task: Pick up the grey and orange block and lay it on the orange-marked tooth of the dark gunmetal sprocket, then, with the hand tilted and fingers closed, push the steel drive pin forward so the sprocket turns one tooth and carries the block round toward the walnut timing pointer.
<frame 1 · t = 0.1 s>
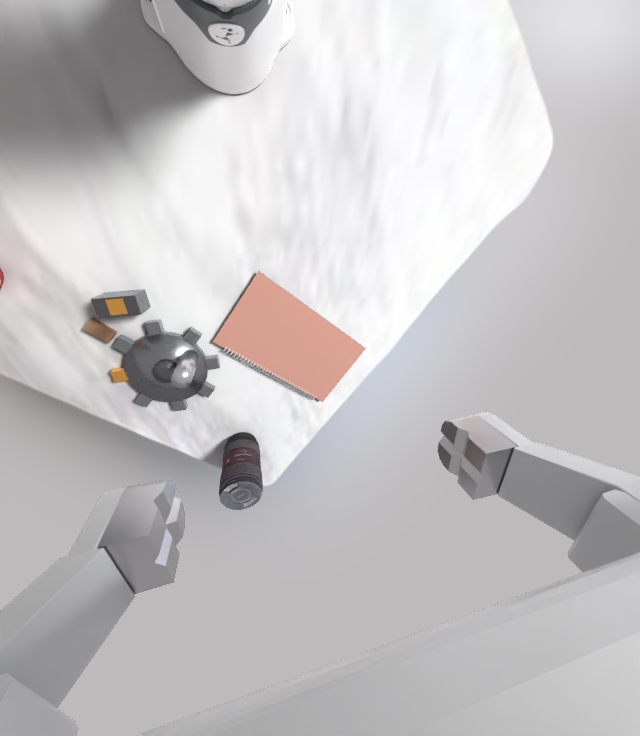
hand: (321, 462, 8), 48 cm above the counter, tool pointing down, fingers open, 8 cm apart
sprocket: (161, 379, 49), point 6 cm above the counter, hinge at 0.0°
grey and orange block: (128, 299, 47), on the counter
notebook: (292, 344, 59), on the counter
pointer: (102, 329, 48), on the counter
camera lens: (241, 443, 66), on the counter
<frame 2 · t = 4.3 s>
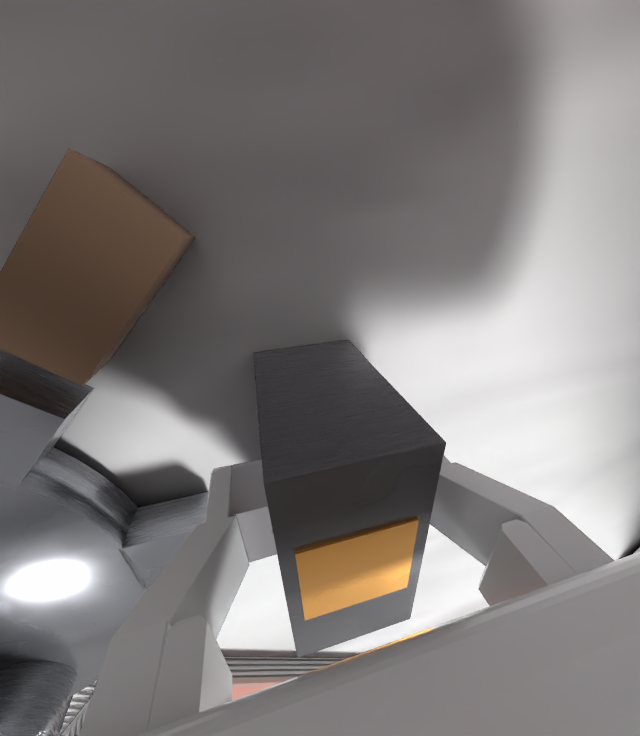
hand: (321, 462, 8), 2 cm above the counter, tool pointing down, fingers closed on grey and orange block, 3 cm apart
grey and orange block: (308, 423, 10), on the counter, touching gripper
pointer: (109, 274, 7), on the counter
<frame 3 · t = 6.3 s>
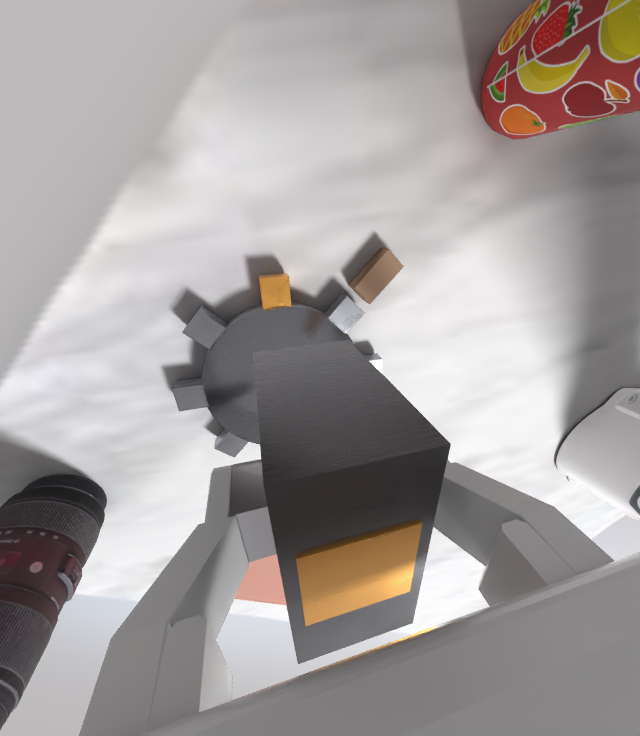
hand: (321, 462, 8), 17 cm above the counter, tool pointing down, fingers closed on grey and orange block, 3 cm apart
sprocket: (291, 407, 22), point 5 cm above the counter, hinge at 0.0°
grey and orange block: (308, 424, 10), point 16 cm above the counter, touching gripper
notebook: (306, 526, 38), on the counter
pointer: (371, 274, 24), on the counter
camera lens: (67, 497, 27), on the counter
smoothie: (511, 87, 21), on the counter
when the fingers open (5 cm above the counter, at t = 8.5 s): grey and orange block drops 1 cm, resting on sprocket.
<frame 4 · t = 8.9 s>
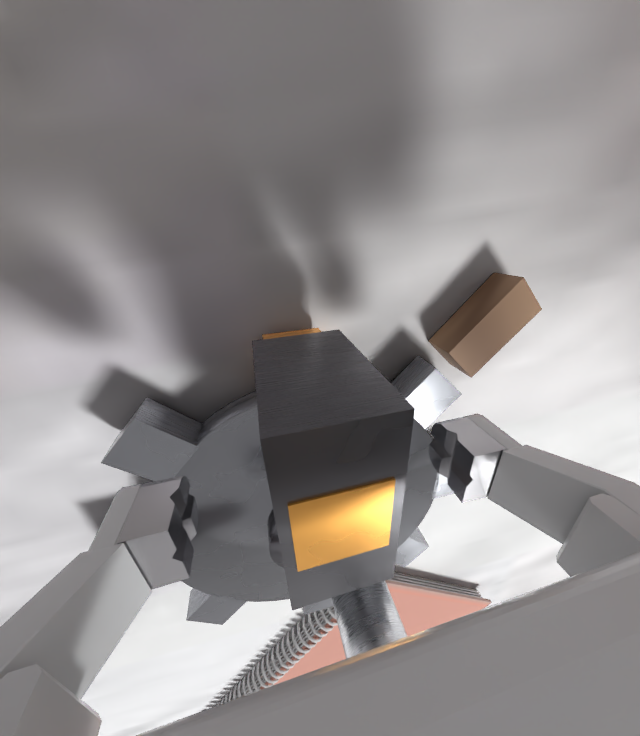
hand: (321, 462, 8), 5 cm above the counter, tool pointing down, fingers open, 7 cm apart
sprocket: (334, 606, 11), point 6 cm above the counter, hinge at 0.0°, touching grey and orange block
grey and orange block: (303, 407, 11), point 2 cm above the counter, touching sprocket
notebook: (330, 654, 27), on the counter
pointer: (470, 321, 13), on the counter
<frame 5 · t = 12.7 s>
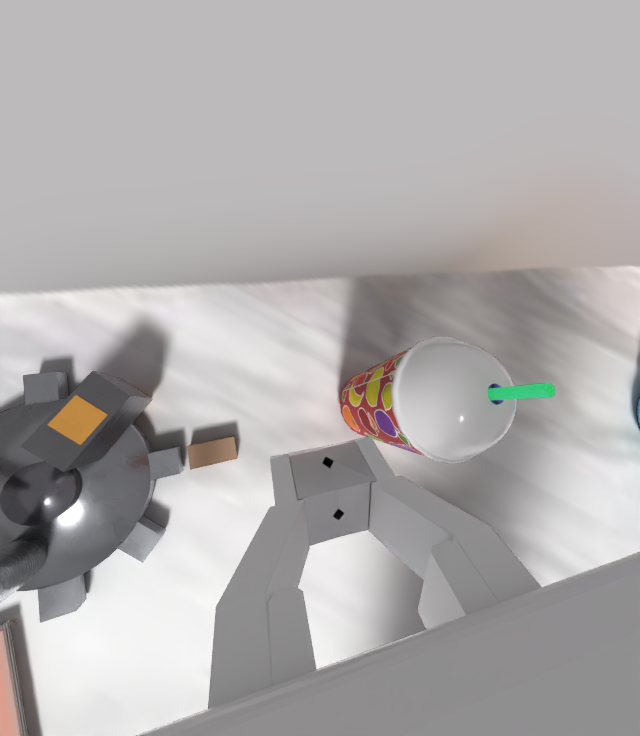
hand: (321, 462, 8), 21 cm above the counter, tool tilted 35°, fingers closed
sprocket: (9, 504, 18), point 6 cm above the counter, hinge at 0.0°, touching grey and orange block
grey and orange block: (111, 418, 23), point 2 cm above the counter, touching sprocket
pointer: (214, 450, 27), on the counter
smoothie: (363, 404, 32), on the counter
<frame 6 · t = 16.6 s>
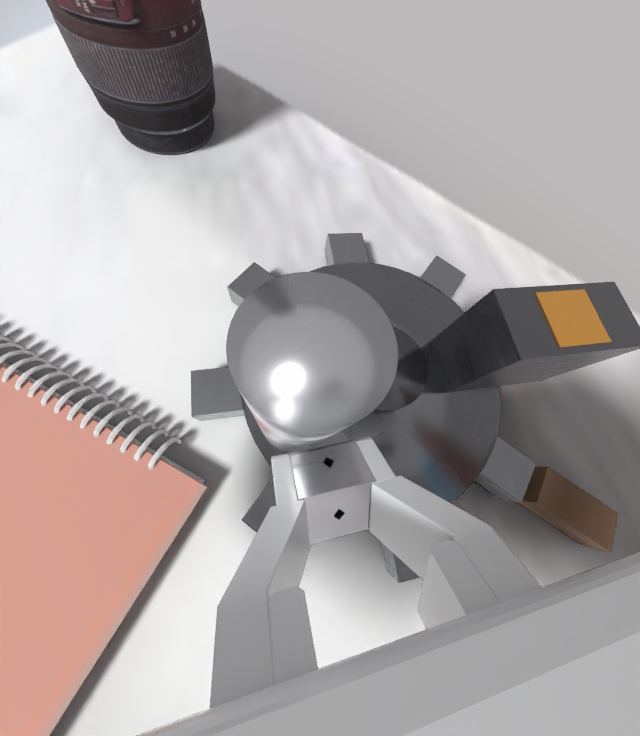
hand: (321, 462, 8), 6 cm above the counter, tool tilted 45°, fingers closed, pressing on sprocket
sprocket: (407, 342, 11), point 5 cm above the counter, hinge at 2.7°, touching gripper, grey and orange block
grey and orange block: (485, 361, 16), point 2 cm above the counter, touching sprocket
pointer: (551, 504, 15), on the counter
camera lens: (170, 127, 21), on the counter
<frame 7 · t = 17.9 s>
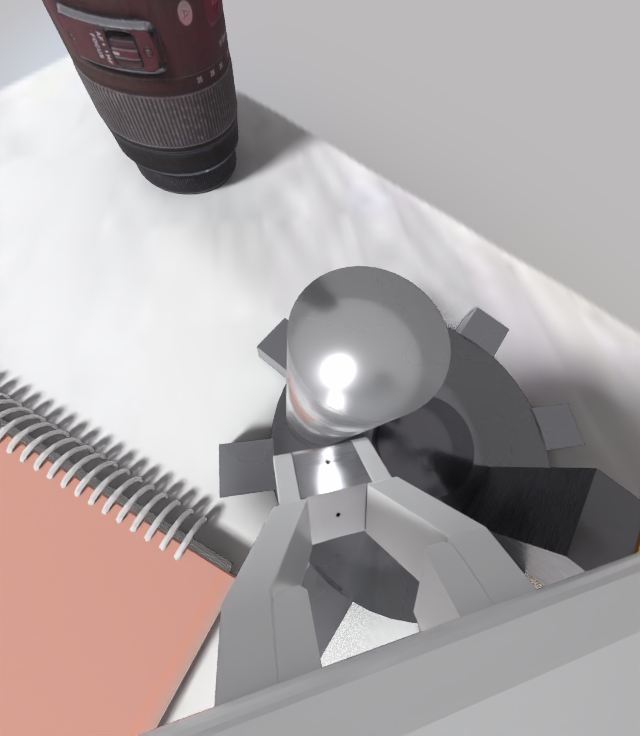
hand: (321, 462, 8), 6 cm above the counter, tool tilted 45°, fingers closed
sprocket: (462, 438, 10), point 6 cm above the counter, hinge at 48.6°, touching gripper, grey and orange block
grey and orange block: (531, 536, 13), point 2 cm above the counter, touching sprocket
camera lens: (190, 162, 20), on the counter
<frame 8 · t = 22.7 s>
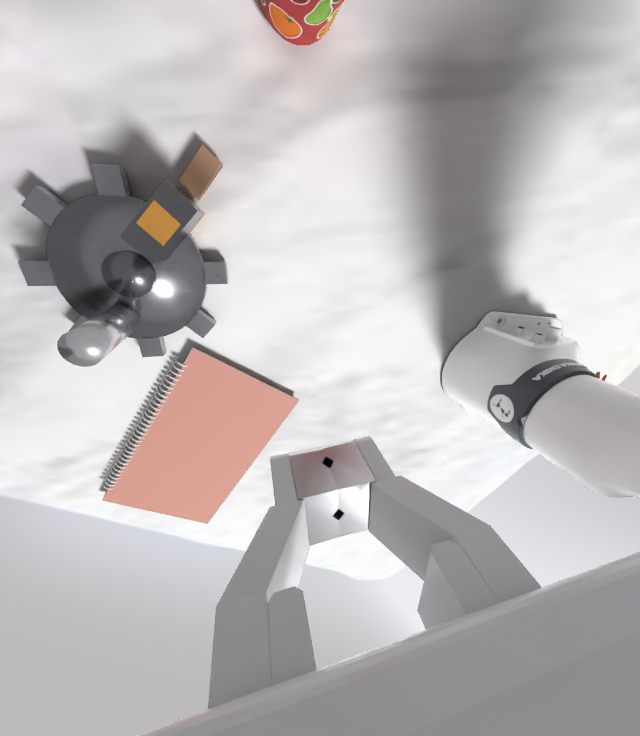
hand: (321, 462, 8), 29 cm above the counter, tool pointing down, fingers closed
sprocket: (117, 279, 25), point 6 cm above the counter, hinge at 49.4°, touching grey and orange block
grey and orange block: (172, 224, 28), point 2 cm above the counter, touching sprocket
notebook: (199, 439, 42), on the counter
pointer: (202, 175, 28), on the counter
smoothie: (294, 0, 24), on the counter
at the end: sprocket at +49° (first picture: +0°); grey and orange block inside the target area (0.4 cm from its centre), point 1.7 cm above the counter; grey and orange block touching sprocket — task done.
